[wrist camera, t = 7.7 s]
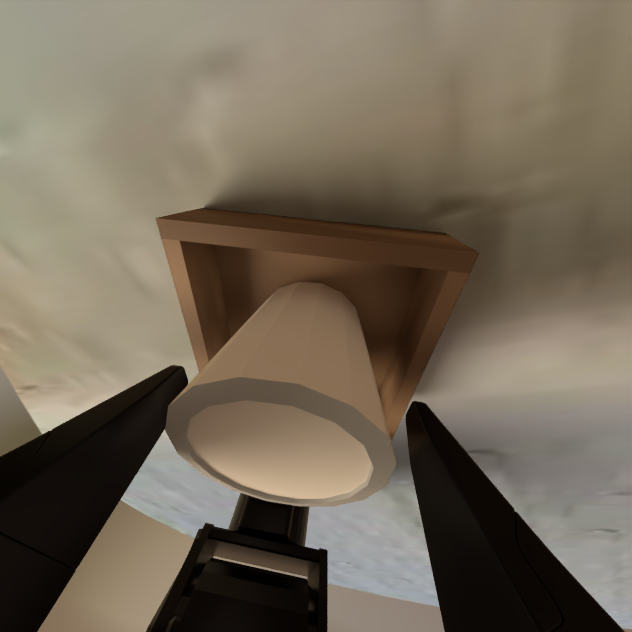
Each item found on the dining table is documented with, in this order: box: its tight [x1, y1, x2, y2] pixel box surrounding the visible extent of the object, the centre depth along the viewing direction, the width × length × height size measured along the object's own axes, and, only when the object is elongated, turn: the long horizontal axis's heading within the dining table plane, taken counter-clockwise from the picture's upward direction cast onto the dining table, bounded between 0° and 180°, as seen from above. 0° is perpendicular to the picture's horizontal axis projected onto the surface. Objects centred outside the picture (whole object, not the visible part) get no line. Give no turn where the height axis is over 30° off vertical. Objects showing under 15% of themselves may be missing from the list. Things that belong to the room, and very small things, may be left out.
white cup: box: [165, 282, 397, 506], centre depth 10 cm, size 7×7×7 cm
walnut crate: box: [156, 208, 479, 440], centre depth 12 cm, size 11×11×3 cm
